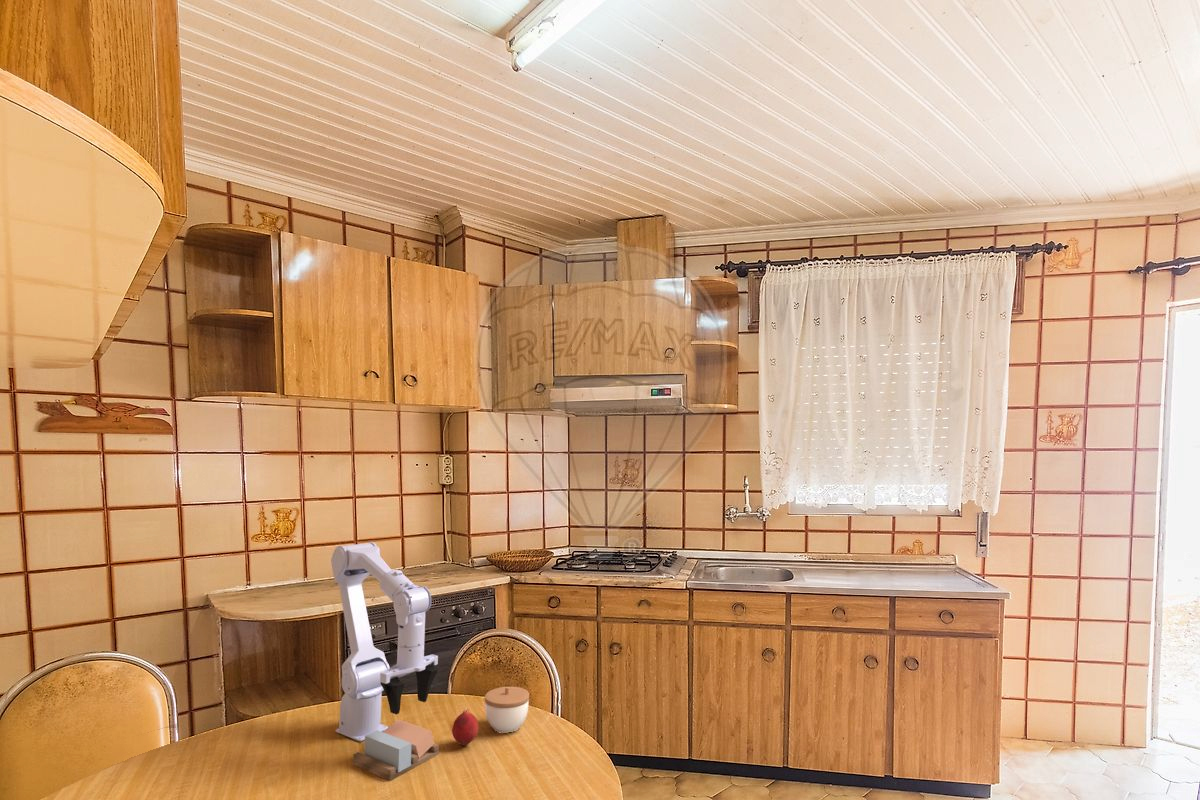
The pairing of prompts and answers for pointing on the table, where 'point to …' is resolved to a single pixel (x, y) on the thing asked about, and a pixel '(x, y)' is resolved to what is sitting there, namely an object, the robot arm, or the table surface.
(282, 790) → the table surface
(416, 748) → the salmon pink block
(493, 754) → the table surface
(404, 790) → the table surface
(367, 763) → the walnut rack
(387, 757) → the grey-blue block
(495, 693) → the lidded jar
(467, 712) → the onion
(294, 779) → the table surface
